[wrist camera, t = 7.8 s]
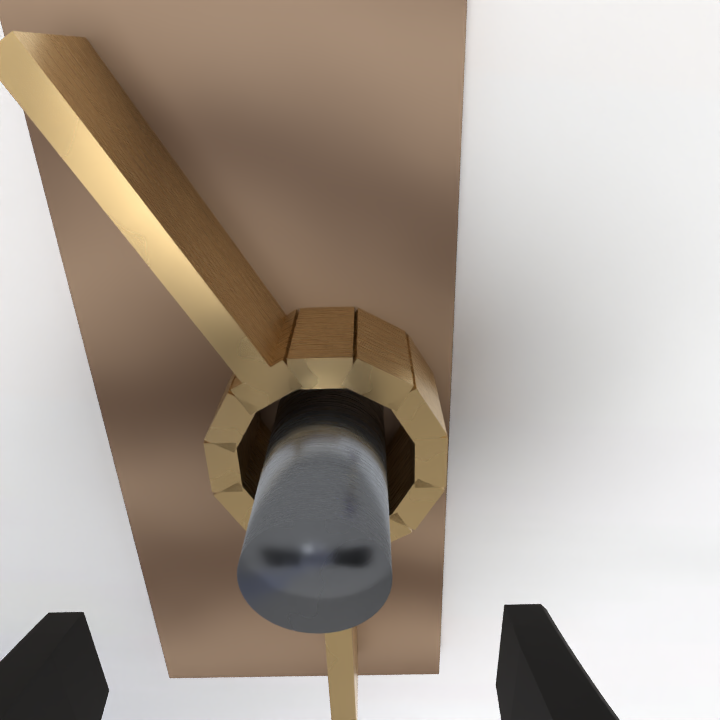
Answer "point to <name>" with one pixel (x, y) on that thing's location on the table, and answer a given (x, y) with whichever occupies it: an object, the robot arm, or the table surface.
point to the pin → (320, 515)
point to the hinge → (232, 303)
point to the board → (265, 270)
